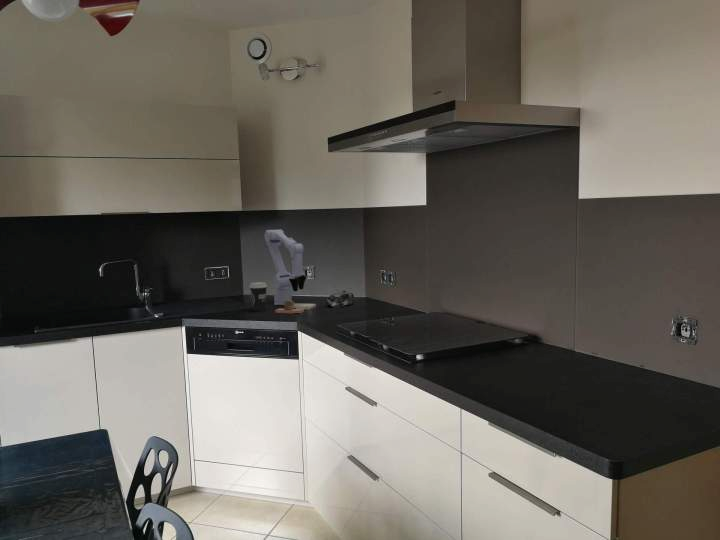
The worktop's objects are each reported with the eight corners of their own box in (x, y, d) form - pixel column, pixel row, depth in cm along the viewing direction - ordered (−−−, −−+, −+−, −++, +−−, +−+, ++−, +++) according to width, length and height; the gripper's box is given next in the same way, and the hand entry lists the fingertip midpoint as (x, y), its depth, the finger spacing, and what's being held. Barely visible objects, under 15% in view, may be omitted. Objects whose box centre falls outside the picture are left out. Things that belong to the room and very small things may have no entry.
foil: (324, 298, 322) (346, 283, 321) (335, 314, 322) (357, 299, 322) (322, 301, 310) (345, 285, 310) (333, 317, 311) (356, 302, 310)
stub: (275, 312, 300) (274, 301, 299) (279, 311, 304) (279, 299, 304) (299, 313, 295) (299, 302, 294) (303, 311, 300) (303, 300, 299)
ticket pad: (286, 308, 312) (285, 305, 311) (293, 305, 320) (292, 303, 320) (309, 309, 307) (309, 306, 307) (316, 306, 316) (316, 303, 316)
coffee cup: (255, 313, 301) (254, 284, 299) (247, 310, 308) (245, 283, 307) (271, 310, 307) (270, 282, 305) (262, 308, 314) (261, 281, 313)
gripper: (298, 267, 305) (299, 292, 307) (309, 264, 319) (310, 288, 320) (286, 267, 307) (287, 292, 309) (297, 264, 321) (298, 288, 322)
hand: (298, 290), depth 315 cm, fingers open, 7 cm apart
